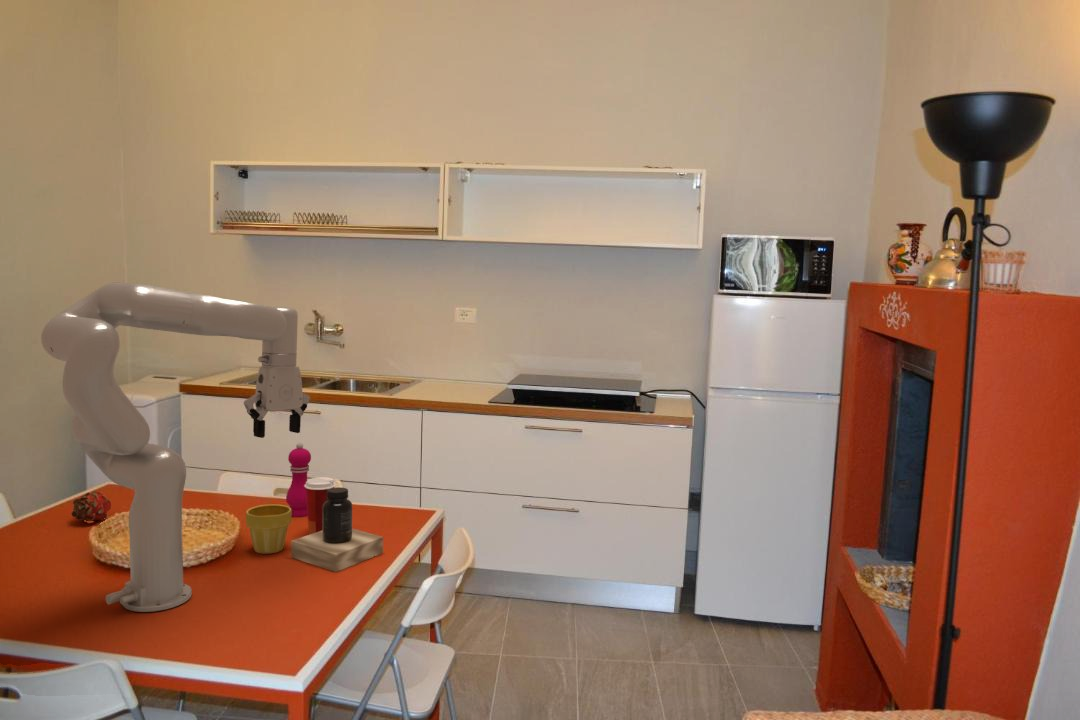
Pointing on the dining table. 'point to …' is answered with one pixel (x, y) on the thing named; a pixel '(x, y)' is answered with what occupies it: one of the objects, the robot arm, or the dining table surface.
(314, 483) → the paper cup
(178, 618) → the dining table surface
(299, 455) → the pepper mill
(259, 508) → the plant pot
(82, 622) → the dining table surface
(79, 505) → the dragon fruit
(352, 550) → the beech block
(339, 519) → the supplement bottle
